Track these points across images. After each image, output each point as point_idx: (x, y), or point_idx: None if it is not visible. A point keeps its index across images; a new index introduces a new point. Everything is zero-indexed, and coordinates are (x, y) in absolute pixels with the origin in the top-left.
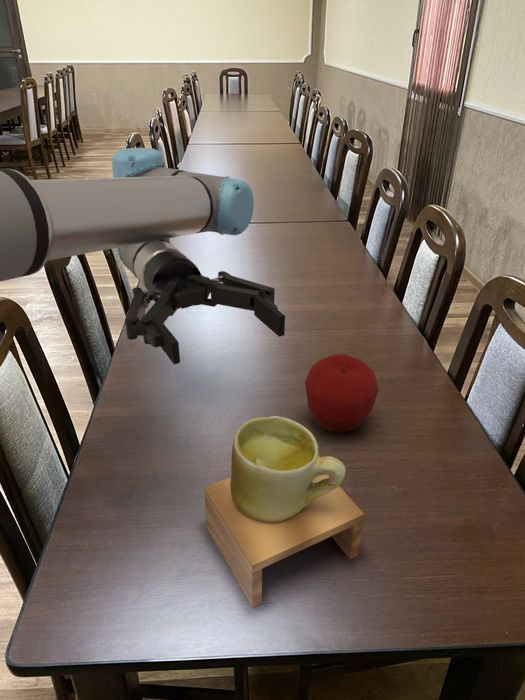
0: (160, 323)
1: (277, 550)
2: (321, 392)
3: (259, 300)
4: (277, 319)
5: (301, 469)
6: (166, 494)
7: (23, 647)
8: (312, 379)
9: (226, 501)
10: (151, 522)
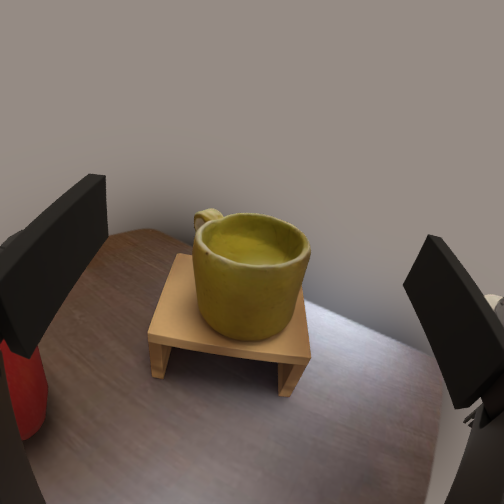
0: (492, 320)
1: None
2: (30, 367)
3: (24, 252)
4: (100, 194)
5: (250, 213)
6: (317, 465)
7: (438, 367)
8: (11, 390)
9: (293, 328)
10: (344, 433)
